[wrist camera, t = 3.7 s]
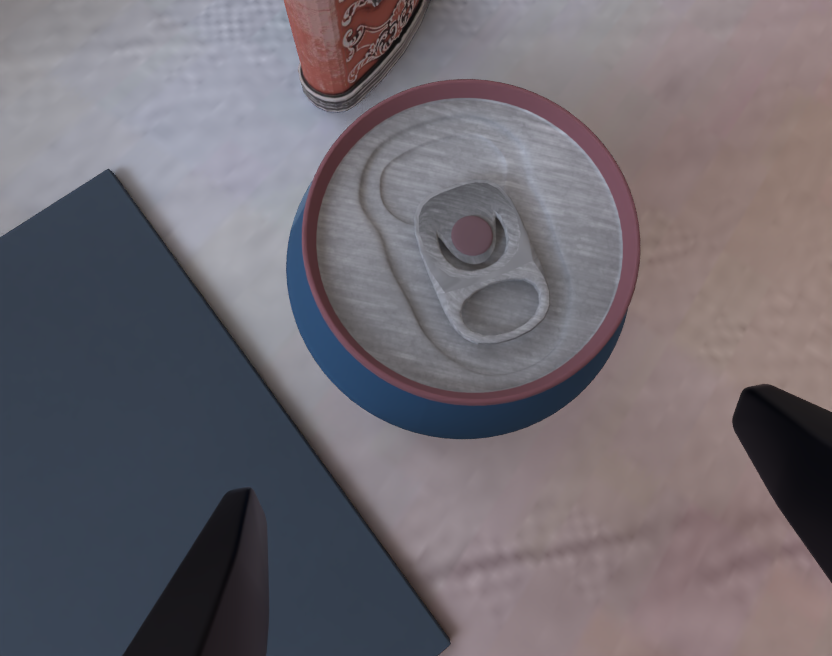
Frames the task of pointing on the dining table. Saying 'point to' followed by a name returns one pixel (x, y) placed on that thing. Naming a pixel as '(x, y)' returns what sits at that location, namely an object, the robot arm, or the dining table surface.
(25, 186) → the dining table surface
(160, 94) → the dining table surface
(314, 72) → the lighter
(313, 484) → the placemat
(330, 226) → the soda can
